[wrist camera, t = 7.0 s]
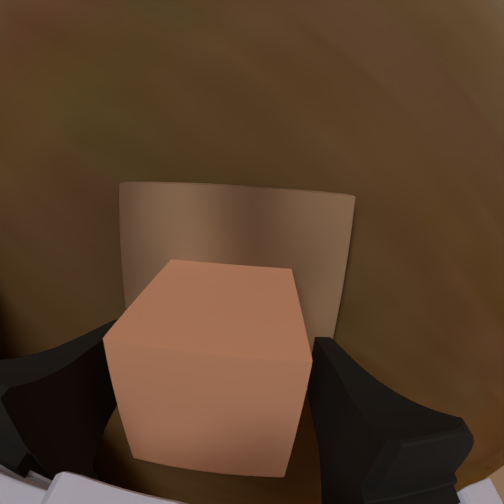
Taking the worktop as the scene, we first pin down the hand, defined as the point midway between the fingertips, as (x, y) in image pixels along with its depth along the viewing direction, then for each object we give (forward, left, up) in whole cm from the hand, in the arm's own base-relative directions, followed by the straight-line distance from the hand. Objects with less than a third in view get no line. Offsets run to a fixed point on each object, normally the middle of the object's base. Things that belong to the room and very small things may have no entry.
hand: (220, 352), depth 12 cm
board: (0, +1, -3) cm, 4 cm away
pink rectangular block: (0, 0, -3) cm, 3 cm away
